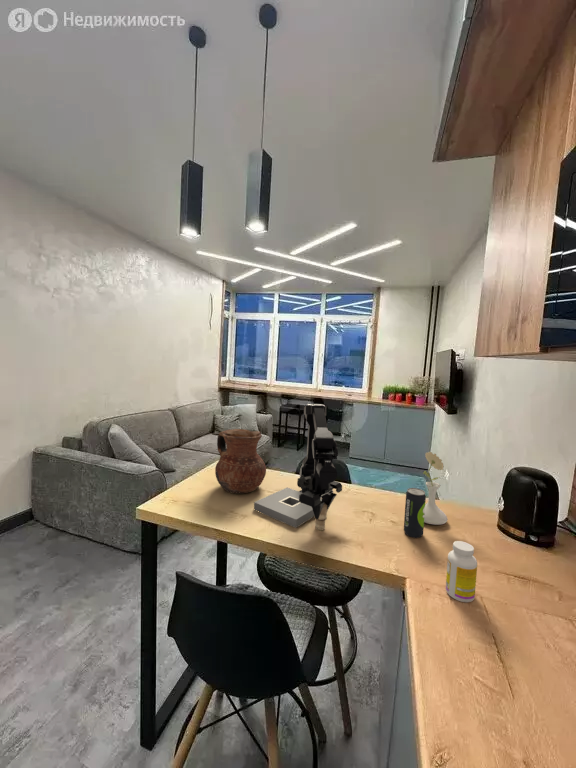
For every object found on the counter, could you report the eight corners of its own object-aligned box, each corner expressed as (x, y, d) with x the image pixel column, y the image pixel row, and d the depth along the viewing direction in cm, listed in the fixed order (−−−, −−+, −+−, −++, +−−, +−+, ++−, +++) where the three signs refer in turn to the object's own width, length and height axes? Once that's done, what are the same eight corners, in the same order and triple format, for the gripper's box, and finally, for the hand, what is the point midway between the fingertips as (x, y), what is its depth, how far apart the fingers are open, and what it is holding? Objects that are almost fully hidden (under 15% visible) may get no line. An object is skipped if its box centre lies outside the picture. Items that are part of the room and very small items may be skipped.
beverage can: (399, 531, 116) (402, 489, 115) (412, 527, 119) (415, 486, 118) (414, 540, 111) (417, 496, 109) (427, 536, 114) (430, 493, 112)
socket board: (286, 494, 144) (287, 487, 144) (326, 508, 132) (327, 500, 131) (253, 509, 128) (254, 501, 128) (295, 527, 116) (296, 519, 116)
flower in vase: (453, 528, 119) (458, 459, 117) (421, 527, 119) (426, 458, 117) (436, 511, 132) (441, 449, 130) (407, 510, 132) (412, 448, 130)
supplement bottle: (480, 599, 84) (485, 550, 83) (461, 606, 81) (466, 556, 80) (457, 582, 90) (461, 536, 89) (439, 588, 88) (443, 541, 86)
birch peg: (318, 523, 120) (319, 501, 119) (328, 527, 117) (329, 505, 117) (311, 527, 117) (312, 505, 116) (321, 532, 114) (322, 509, 113)
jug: (265, 479, 160) (267, 427, 158) (265, 498, 139) (267, 438, 137) (218, 479, 158) (219, 426, 156) (211, 497, 138) (212, 437, 135)
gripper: (317, 460, 128) (316, 500, 129) (286, 473, 113) (285, 518, 114) (343, 467, 121) (341, 509, 122) (314, 481, 106) (312, 529, 107)
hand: (320, 516), depth 117 cm, fingers closed on birch peg, 4 cm apart
